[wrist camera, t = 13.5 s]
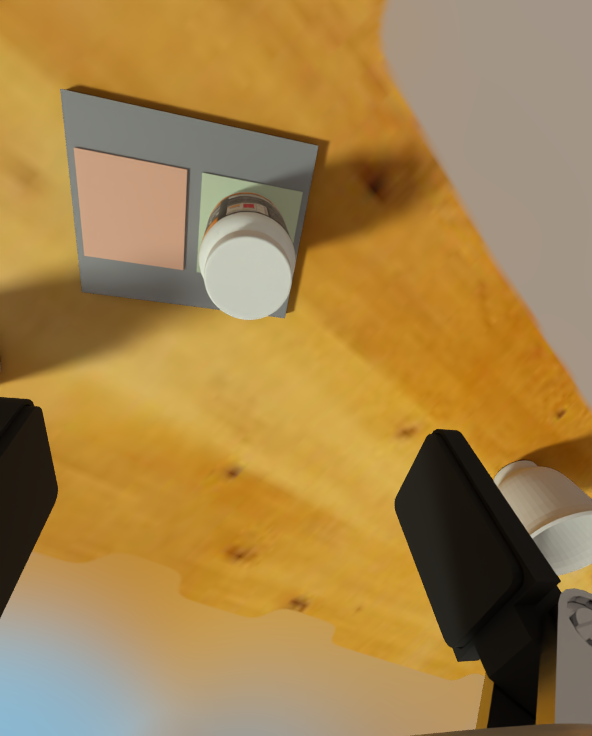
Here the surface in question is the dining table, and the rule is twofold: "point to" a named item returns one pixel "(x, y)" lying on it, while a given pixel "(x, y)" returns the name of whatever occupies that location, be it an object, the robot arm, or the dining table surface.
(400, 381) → the dining table surface
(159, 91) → the dining table surface
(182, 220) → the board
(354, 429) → the dining table surface
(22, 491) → the robot arm
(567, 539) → the teacup
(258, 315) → the pill bottle
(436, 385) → the dining table surface
